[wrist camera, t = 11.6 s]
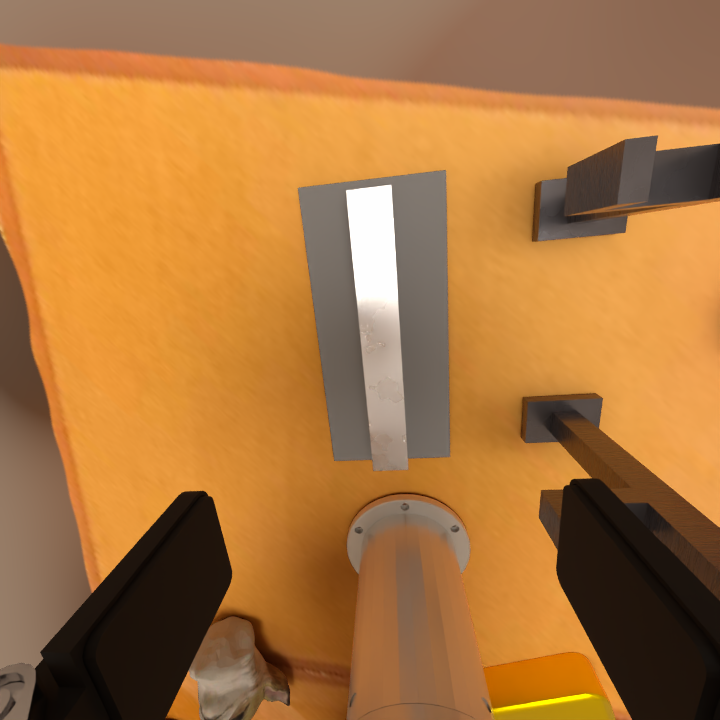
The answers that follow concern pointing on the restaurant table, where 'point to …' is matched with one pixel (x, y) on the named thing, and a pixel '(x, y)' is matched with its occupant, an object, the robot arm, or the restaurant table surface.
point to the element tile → (547, 689)
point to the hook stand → (582, 411)
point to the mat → (415, 301)
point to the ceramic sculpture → (234, 673)
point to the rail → (379, 322)
